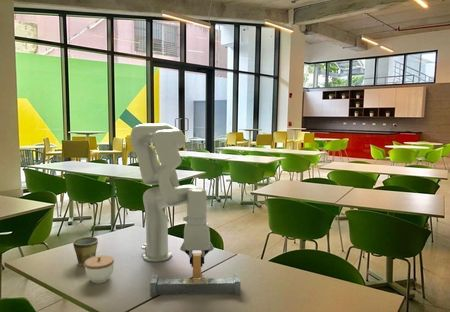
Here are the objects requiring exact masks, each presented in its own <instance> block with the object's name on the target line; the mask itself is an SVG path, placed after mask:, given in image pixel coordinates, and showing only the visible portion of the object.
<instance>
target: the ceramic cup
mask: <svg viewBox="0 0 450 312" xmlns="http://www.w3.org/2000/svg"><path fill="white" fill-rule="evenodd" d="M98 241H99V239H98V238H97V237H95V236H83V237H79V238H76V239H74V240H73V241H72V244H73V248H74V251H75V255H76V259H77V264H78V265H79V266H81V265H83V266H82V267H85V265H84V263H85V261H86V260H87V259H89V258H91V257H95V256H97V255H96V254H97V248H98V243H99V242H98Z"/></svg>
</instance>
